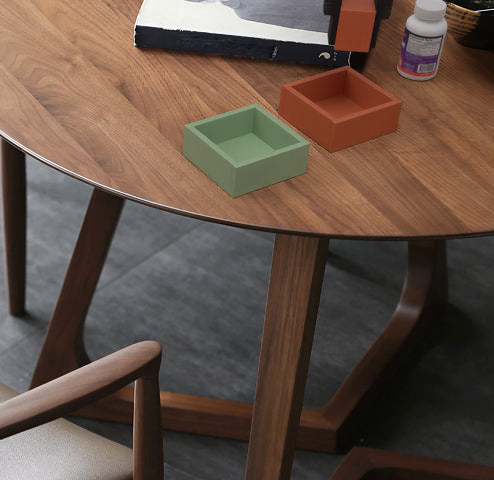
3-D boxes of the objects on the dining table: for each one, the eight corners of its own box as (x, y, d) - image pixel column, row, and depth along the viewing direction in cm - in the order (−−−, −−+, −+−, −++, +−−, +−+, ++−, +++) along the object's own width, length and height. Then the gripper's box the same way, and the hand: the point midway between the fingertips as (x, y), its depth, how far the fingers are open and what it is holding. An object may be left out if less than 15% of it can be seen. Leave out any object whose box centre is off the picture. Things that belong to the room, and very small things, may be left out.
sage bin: (305, 173, 128) (310, 143, 125) (233, 198, 124) (236, 167, 121) (253, 132, 134) (256, 102, 131) (182, 154, 130) (184, 124, 127)
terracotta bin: (396, 130, 135) (402, 101, 132) (330, 153, 131) (335, 123, 128) (342, 93, 142) (347, 65, 139) (278, 114, 138) (281, 85, 135)
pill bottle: (404, 58, 149) (418, -9, 143) (441, 69, 147) (458, 1, 141) (390, 74, 146) (404, 6, 139) (428, 85, 144) (444, 16, 137)
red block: (366, 36, 130) (373, -4, 126) (368, 52, 127) (376, 12, 123) (332, 34, 130) (339, -6, 126) (334, 50, 127) (341, 9, 124)
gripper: (466, -176, 114) (420, 31, 130) (305, -185, 115) (278, 22, 131) (476, -152, 109) (426, 61, 125) (307, -162, 110) (279, 51, 126)
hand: (350, 41), depth 128 cm, fingers closed on red block, 4 cm apart
